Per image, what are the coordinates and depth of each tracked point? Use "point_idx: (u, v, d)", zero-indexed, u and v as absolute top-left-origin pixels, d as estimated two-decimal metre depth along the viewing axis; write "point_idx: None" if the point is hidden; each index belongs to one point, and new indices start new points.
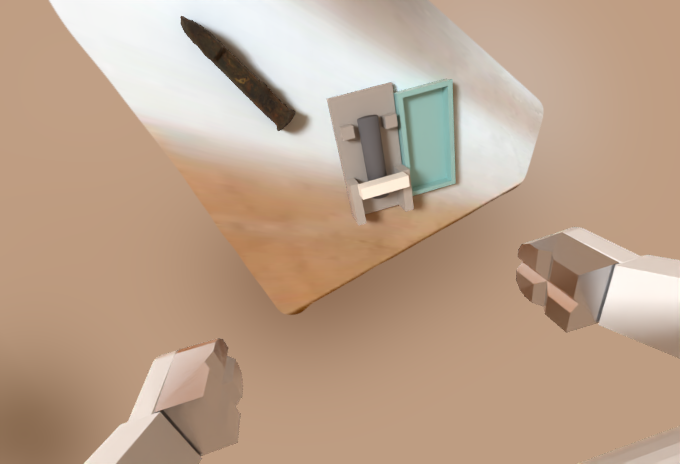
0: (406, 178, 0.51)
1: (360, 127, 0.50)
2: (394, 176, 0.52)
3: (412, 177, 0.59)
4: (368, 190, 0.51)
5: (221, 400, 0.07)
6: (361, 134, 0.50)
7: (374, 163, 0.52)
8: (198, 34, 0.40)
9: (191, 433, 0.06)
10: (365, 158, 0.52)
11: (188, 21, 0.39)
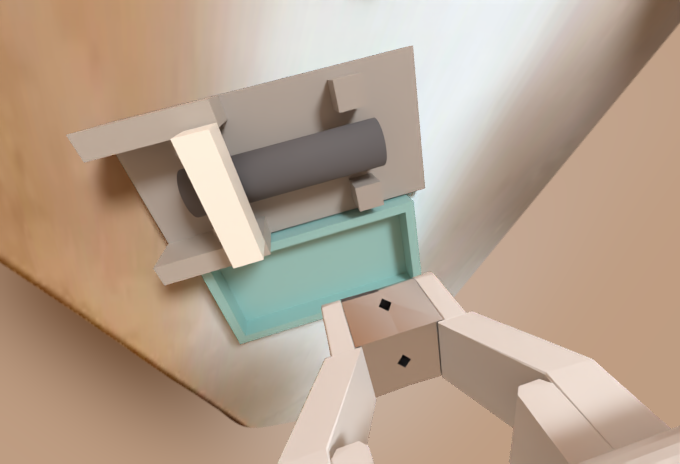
0: (255, 256, 0.19)
1: (362, 125, 0.21)
2: (253, 225, 0.20)
3: None
4: (207, 154, 0.16)
5: None
6: (346, 129, 0.21)
7: (281, 168, 0.20)
8: None
9: (375, 372, 0.06)
10: (287, 144, 0.21)
11: None
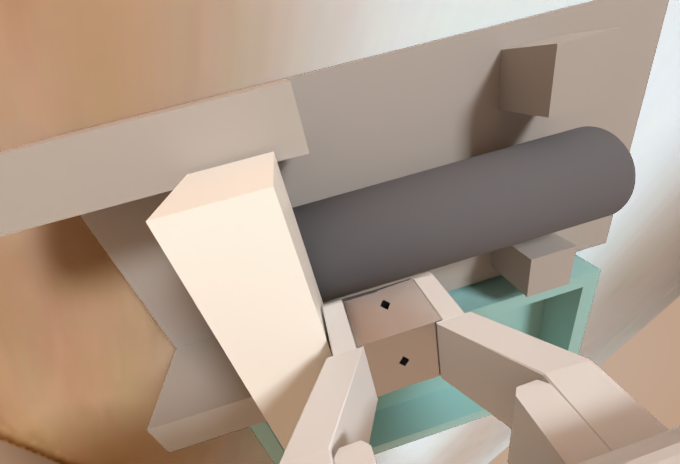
0: None
1: (583, 143, 0.10)
2: None
3: None
4: (263, 258, 0.05)
5: None
6: (550, 151, 0.10)
7: (424, 237, 0.09)
8: None
9: (377, 372, 0.06)
10: (430, 183, 0.10)
11: None
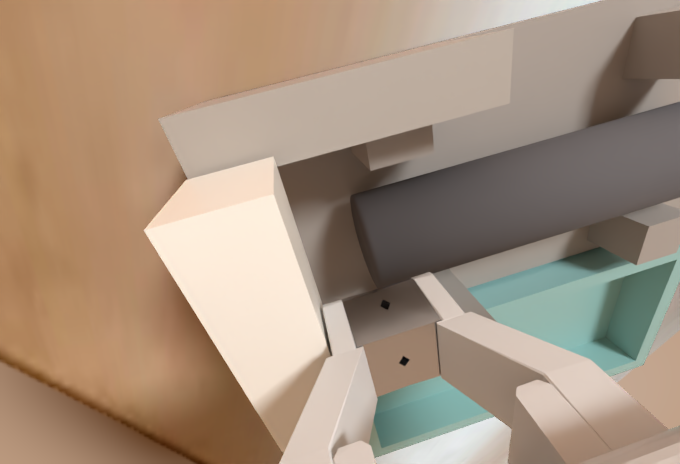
0: None
1: None
2: None
3: None
4: (263, 266, 0.05)
5: None
6: None
7: (579, 195, 0.10)
8: None
9: (377, 372, 0.06)
10: (577, 144, 0.10)
11: None
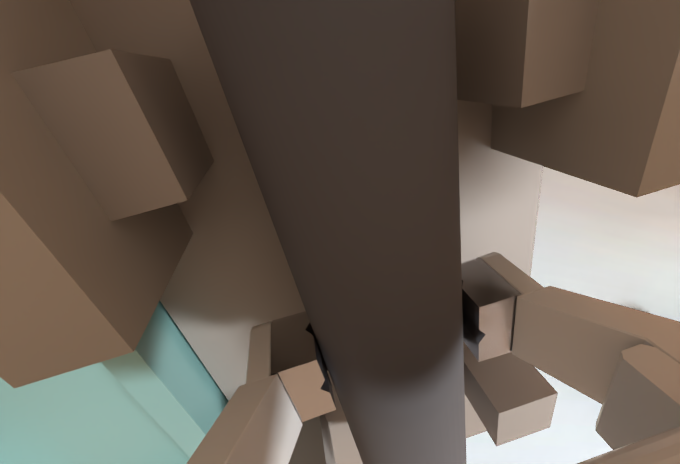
0: None
1: None
2: None
3: None
4: None
5: None
6: None
7: (436, 367, 0.06)
8: None
9: (298, 398, 0.06)
10: None
11: None
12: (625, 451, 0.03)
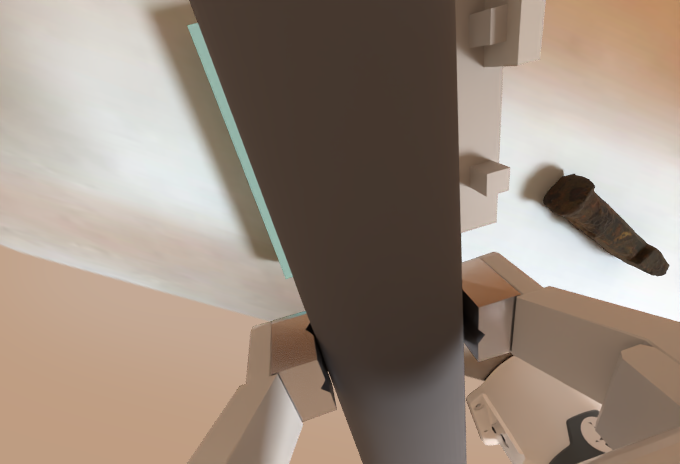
0: None
1: None
2: None
3: None
4: None
5: None
6: None
7: (436, 366, 0.06)
8: (658, 268, 0.33)
9: (298, 398, 0.06)
10: None
11: None
12: (625, 451, 0.03)
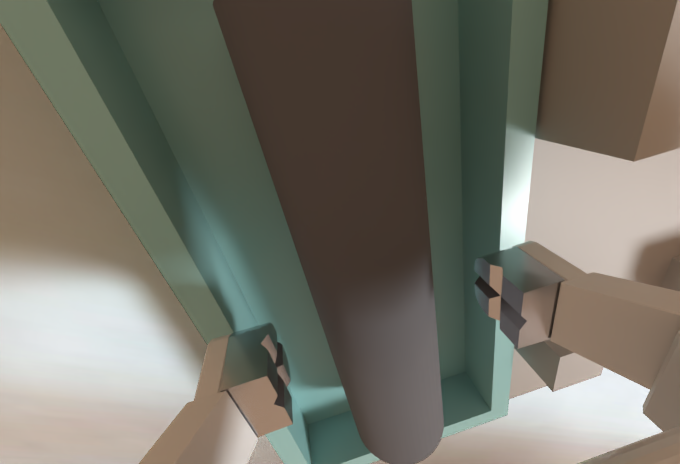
0: None
1: None
2: None
3: (419, 6, 0.07)
4: None
5: None
6: None
7: (409, 309, 0.07)
8: None
9: (251, 413, 0.06)
10: None
11: None
12: (625, 451, 0.03)
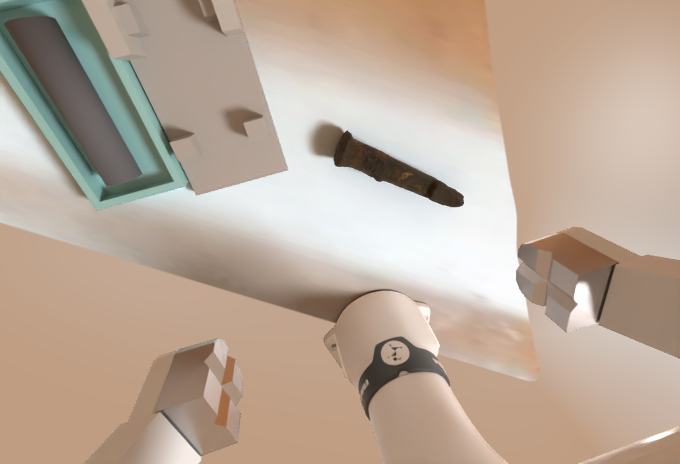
0: None
1: (125, 169, 0.30)
2: None
3: (88, 23, 0.27)
4: None
5: (221, 400, 0.07)
6: (120, 157, 0.30)
7: (69, 109, 0.27)
8: (451, 200, 0.39)
9: (191, 433, 0.06)
10: (95, 114, 0.28)
11: (459, 205, 0.40)
12: (625, 451, 0.03)
